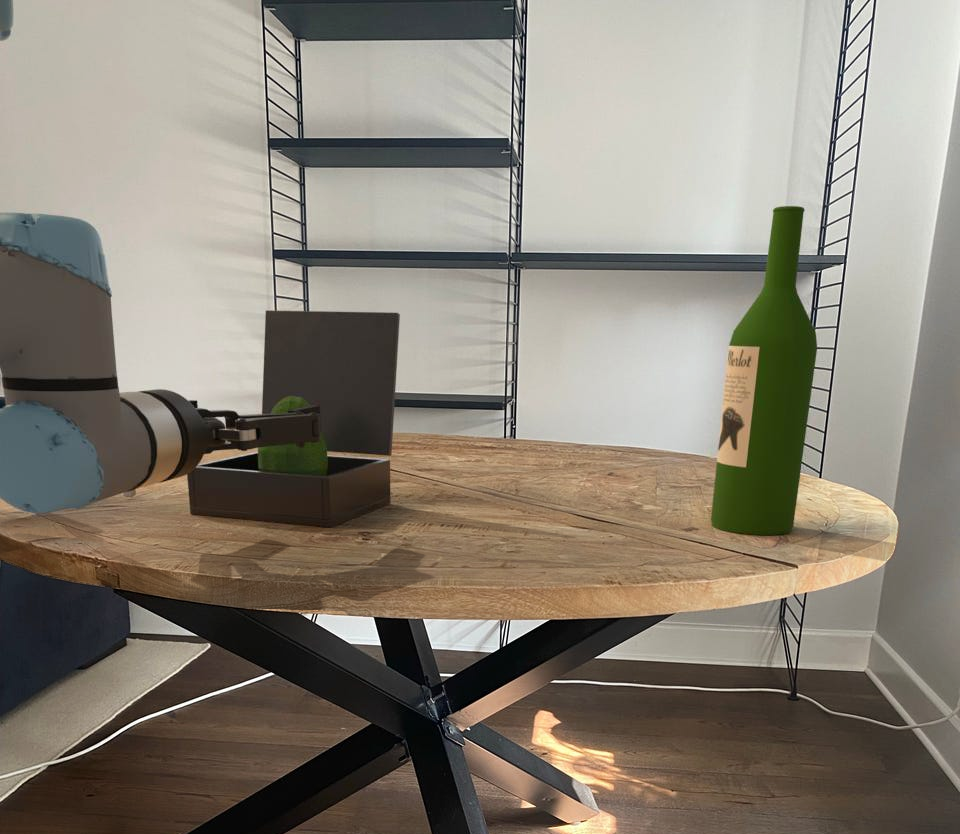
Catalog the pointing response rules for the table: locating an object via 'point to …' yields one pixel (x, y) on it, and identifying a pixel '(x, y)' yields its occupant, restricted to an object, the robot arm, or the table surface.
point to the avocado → (294, 450)
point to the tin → (289, 491)
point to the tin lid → (336, 373)
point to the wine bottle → (767, 397)
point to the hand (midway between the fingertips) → (255, 416)
